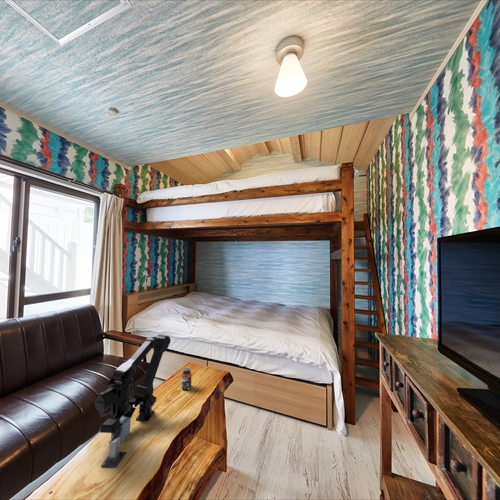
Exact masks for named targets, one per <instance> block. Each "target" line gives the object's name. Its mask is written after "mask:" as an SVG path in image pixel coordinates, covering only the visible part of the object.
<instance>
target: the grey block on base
mask: <svg viewBox="0 0 500 500" xmlns="http://www.w3.org/2000/svg"><path fill="white" fill-rule="evenodd" d="M120 423H122V427H121V430H120V433H119V436H118V437H120V443H121V442H124V440H125V439H126V438H127V437H128V435H129V434H130V433H131V419H130V417H122V418H121V419H120ZM110 436H111V437H110V441H111V440H112V438H113V434H112V433H110Z"/></svg>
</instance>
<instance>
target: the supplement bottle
mask: <svg viewBox="0 0 500 500" xmlns="http://www.w3.org/2000/svg"><path fill="white" fill-rule="evenodd" d="M190 387H191V388H192V371H191V368H190V367H185V368H183V369H182V373H181V390H182V389H188V388H190ZM191 388H190V389H191ZM188 390H189V389H188Z"/></svg>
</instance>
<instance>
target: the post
mask: <svg viewBox="0 0 500 500" xmlns="http://www.w3.org/2000/svg"><path fill="white" fill-rule="evenodd" d="M120 449H121V442H120V437H113V438H112V440H111V439H110V440H109V442H108V455H107V457H106V459H104V461H103V462H102V464H101V465H100V467H101V468H114V469H115V468H118V466H119V465H120V463H121V461H122V460H123V459H124V458H125V456H126V455H127V451H120Z"/></svg>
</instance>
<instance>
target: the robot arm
mask: <svg viewBox="0 0 500 500" xmlns="http://www.w3.org/2000/svg"><path fill="white" fill-rule="evenodd" d="M144 340H145V341H144V342H143V343H142V344H141V346H140V347H139V348H138V349H137V350H136V351H135V353H134V354H133V355H132V356H131V357H130V358H129V359H128V360H126V361H125V362H123V363H122V364H121V365H119V366H118V367H117V368H115V370H114V371H113V373H112V376H111V378H110V380H109V381H108V383H107V386H106V388H107V389H105V390H104V391H101V392H100V393H98V397H96V399H95V401H94V406H95V409H96V411H97V412H98V415H99V417H100V418H102V417H105V416H107V415H110V416H113V418H107V419H106V420H105V421H104V422H103V423H102V424H101V425H100V427H99V432H100V433H104V434H111V433H112V434H113V437H118V436H119V433H120V430H121V427H122V423H120V419H121V418H122V417H130V420H131V419H132V417H133V415H134V413H135V411H136V409H137V407H138V406H139V408H138V409H139V410H138V415H137V417H136V418H135V420H136V421H145V422H146V421H149V420H150V419H151V417H152V416H153V415H154V413H155V412H156V411H155V410H154V409H153V406H154V404H155V403H156V402H157V397H156V396H155V395H153V394H154V391H155V390H154V381H155V377H156V375H157V372H158V369H159V366H160V363H161V360H162V358H163V355H164V353H165V352H166V351H167V350H168V348H169V346H170V344H171V340H172V339H171V337H170V336H169V335H164V334H163V335H162V334H158V335H156V336H151V337H147V338H146V339H144ZM152 349H153V353H152V355H151V358H150V361H149V364H148V366H147V369H146V372H145V375H144V377H143V381H142V382H141V383H140V384H139V385H136V387H135V390H134V393H133V397H132V396H131V395H130V389H131V387H130V385H131V384H133V383H134V382H135V380H133V376H134V375H135V374H136V372H137V367H138V366H139V365H140V363H142V361H143V360H144V359H145V357H146V356H147V355H148V354H149V352H150V351H152ZM116 382H118V383H116Z"/></svg>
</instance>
